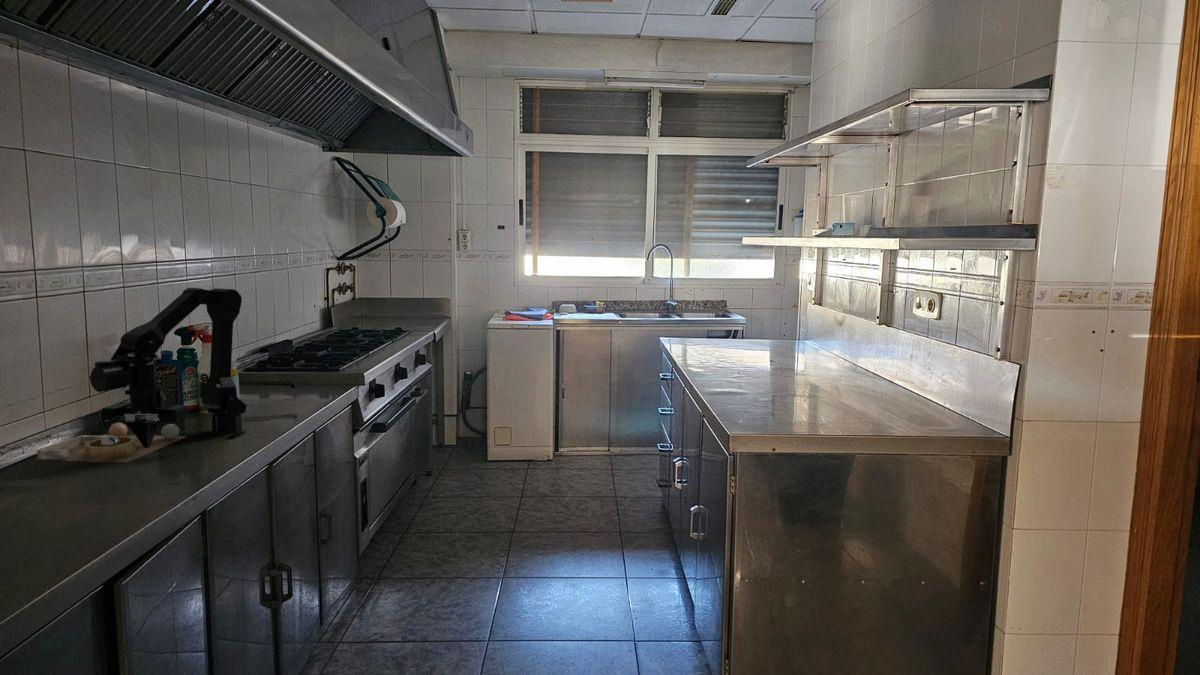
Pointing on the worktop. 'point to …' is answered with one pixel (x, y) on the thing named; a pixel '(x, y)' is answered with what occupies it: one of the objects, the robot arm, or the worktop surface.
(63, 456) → the board
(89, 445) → the race ring
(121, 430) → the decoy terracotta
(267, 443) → the worktop surface
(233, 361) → the bottle
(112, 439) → the steel ball
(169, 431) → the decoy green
